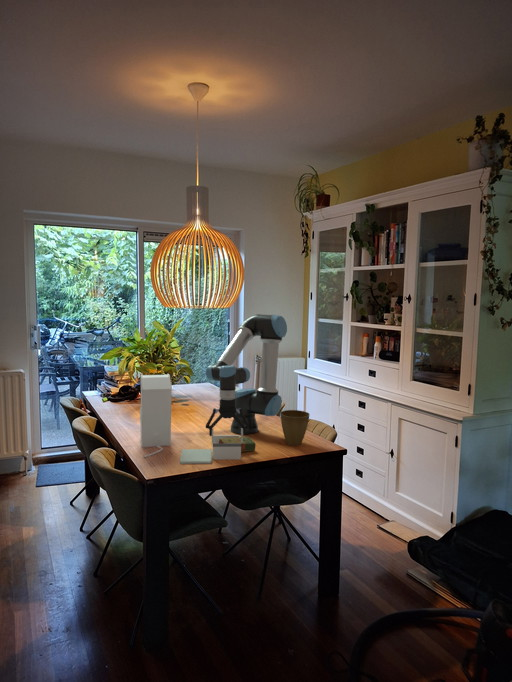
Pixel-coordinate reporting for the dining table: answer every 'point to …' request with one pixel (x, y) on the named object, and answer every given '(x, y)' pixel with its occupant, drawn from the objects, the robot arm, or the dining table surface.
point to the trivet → (196, 456)
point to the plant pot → (294, 426)
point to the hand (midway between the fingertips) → (227, 442)
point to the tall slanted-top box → (155, 411)
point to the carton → (245, 446)
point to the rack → (226, 448)
